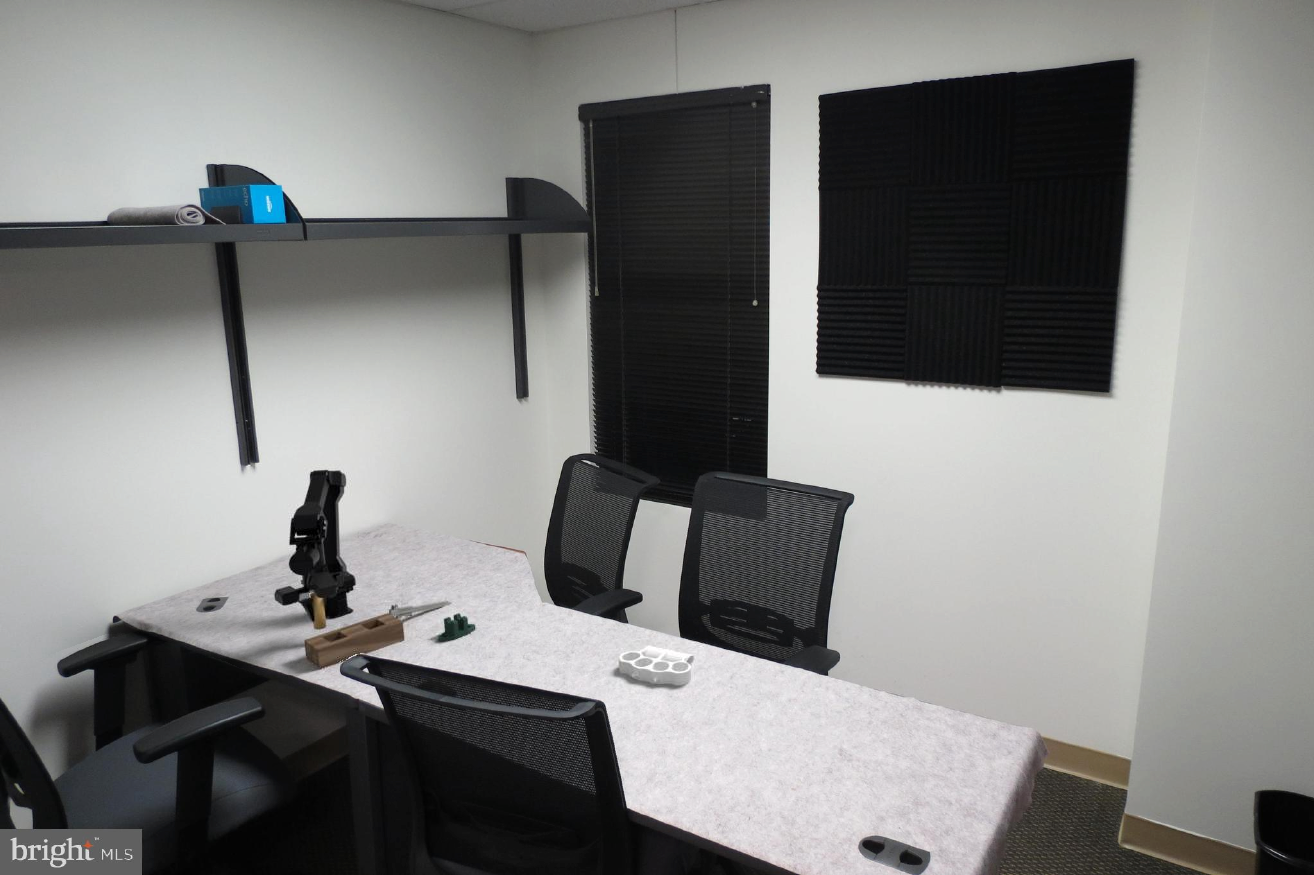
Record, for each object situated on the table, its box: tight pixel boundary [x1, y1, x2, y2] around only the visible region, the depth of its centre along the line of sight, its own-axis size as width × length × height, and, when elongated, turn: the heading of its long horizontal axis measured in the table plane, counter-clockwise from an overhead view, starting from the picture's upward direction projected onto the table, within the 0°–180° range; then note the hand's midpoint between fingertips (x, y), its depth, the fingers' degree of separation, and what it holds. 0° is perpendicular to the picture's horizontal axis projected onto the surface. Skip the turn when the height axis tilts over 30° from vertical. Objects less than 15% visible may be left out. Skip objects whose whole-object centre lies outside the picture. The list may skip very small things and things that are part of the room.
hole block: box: [303, 612, 405, 670], centre depth 223 cm, size 8×22×5 cm, turn 134°
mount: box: [437, 613, 476, 643], centre depth 230 cm, size 11×4×5 cm, turn 137°
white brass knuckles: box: [618, 645, 695, 687], centre depth 208 cm, size 3×18×15 cm
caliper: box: [388, 599, 452, 621], centre depth 243 cm, size 20×1×6 cm, turn 143°
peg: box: [309, 592, 327, 630], centre depth 227 cm, size 3×3×9 cm
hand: (319, 619), depth 227 cm, fingers closed on peg, 3 cm apart
